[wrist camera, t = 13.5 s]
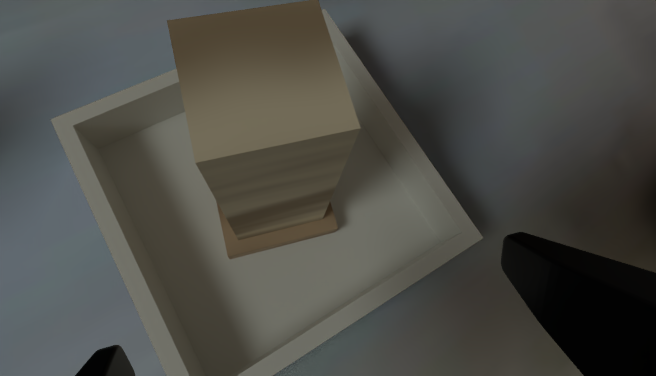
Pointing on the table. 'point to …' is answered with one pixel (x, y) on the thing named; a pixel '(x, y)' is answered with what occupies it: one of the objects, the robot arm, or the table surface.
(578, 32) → the table surface
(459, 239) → the box
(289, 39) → the stepped wooden block
